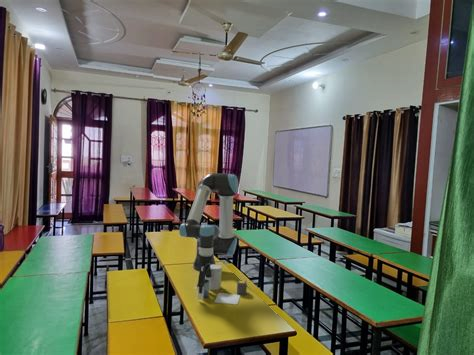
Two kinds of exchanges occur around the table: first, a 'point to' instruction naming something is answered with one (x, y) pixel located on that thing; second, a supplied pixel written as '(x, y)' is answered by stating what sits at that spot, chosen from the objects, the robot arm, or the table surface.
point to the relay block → (241, 287)
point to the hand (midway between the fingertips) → (203, 293)
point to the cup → (215, 277)
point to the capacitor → (206, 288)
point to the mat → (227, 298)
